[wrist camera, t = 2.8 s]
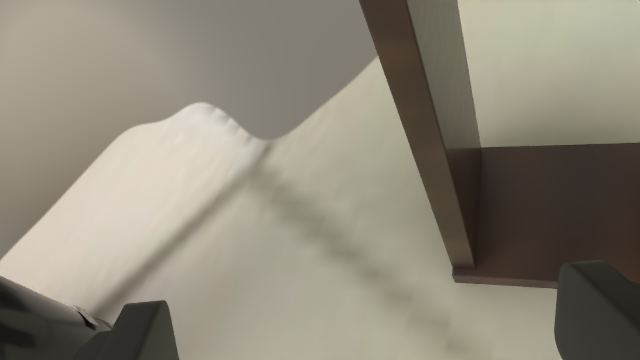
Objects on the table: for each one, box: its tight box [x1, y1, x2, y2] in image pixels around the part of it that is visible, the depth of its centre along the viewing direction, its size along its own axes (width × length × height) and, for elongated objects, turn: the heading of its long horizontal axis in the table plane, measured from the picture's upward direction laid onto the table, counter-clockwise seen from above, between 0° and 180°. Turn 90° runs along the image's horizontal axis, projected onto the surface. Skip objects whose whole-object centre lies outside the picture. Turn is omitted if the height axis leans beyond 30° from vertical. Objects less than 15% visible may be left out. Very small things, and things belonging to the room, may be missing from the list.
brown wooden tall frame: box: [359, 0, 640, 289], centre depth 23 cm, size 14×10×32 cm
